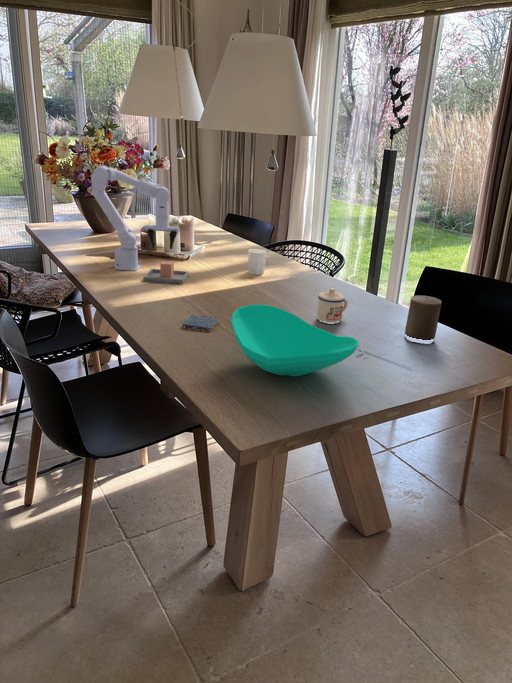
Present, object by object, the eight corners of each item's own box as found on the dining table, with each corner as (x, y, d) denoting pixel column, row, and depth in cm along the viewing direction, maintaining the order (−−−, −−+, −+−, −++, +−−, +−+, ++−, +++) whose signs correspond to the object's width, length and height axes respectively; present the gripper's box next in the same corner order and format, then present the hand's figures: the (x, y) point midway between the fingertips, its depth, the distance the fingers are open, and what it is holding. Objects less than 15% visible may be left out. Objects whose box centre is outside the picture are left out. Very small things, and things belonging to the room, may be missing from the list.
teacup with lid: (326, 326, 189) (330, 294, 184) (310, 318, 196) (313, 286, 191) (353, 321, 195) (357, 290, 190) (336, 313, 202) (340, 282, 198)
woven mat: (220, 323, 188) (220, 317, 187) (211, 334, 178) (211, 328, 177) (190, 319, 190) (191, 313, 189) (180, 329, 180) (180, 323, 179)
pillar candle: (429, 347, 177) (438, 302, 171) (399, 339, 181) (407, 295, 176) (437, 338, 184) (446, 295, 179) (409, 331, 189) (416, 289, 183)
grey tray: (143, 281, 226) (143, 276, 226) (151, 272, 238) (151, 268, 238) (182, 284, 226) (182, 279, 225) (188, 275, 238) (188, 271, 237)
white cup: (265, 271, 251) (267, 249, 247) (264, 276, 244) (265, 253, 240) (248, 270, 252) (249, 248, 248) (246, 274, 244) (247, 252, 241)
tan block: (160, 277, 230) (160, 263, 228) (163, 275, 234) (163, 261, 232) (171, 278, 230) (171, 264, 227) (173, 275, 234) (173, 261, 231)
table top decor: (205, 357, 159) (206, 314, 154) (275, 337, 177) (278, 297, 172) (306, 413, 133) (311, 363, 128) (376, 383, 150) (383, 338, 145)
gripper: (143, 216, 233) (143, 248, 238) (177, 219, 232) (177, 251, 238) (147, 213, 240) (147, 245, 245) (180, 216, 239) (180, 247, 244)
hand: (162, 247), depth 242 cm, fingers open, 7 cm apart
